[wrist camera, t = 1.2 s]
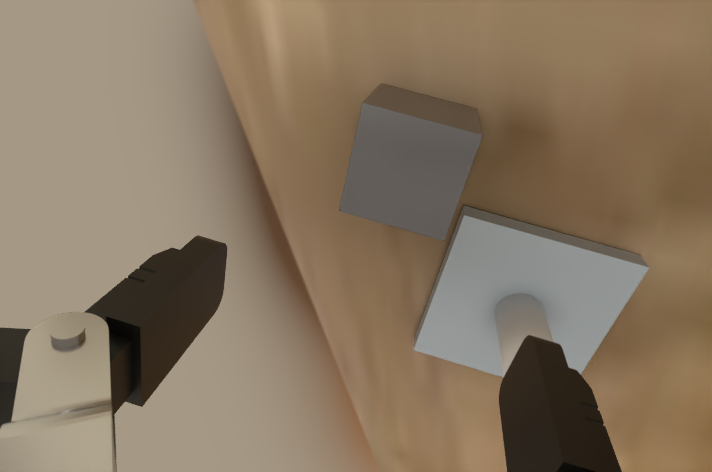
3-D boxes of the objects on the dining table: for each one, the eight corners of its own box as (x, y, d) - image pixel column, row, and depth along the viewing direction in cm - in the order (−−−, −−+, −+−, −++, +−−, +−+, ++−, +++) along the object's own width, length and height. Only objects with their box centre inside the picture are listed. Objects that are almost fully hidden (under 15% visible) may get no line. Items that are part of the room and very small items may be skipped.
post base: (640, 255, 27) (710, 348, 20) (561, 380, 32) (593, 491, 25) (463, 205, 28) (467, 277, 20) (414, 336, 33) (403, 431, 26)
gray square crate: (476, 108, 25) (482, 135, 20) (446, 197, 28) (444, 241, 23) (381, 83, 26) (362, 102, 20) (360, 173, 28) (338, 210, 23)
